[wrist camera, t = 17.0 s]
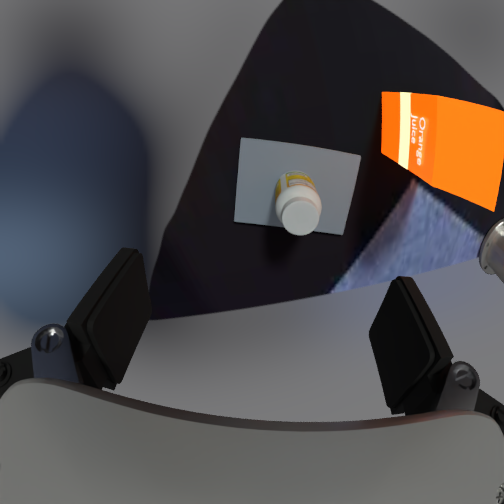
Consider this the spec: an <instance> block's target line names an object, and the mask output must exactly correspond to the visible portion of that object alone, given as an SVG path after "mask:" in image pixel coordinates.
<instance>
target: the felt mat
mask: <svg viewBox="0 0 504 504" xmlns="http://www.w3.org/2000/svg"><path fill="white" fill-rule="evenodd" d="M360 159H361V156H359V155H355V154H350V153H345V152H340V151H334V150H329V149H323V148H318V147H312V146H305V145H299V144H292V143H284V142H277V141H268V140H260V139H250V138H241V144H240V155H239V167H238V179H237V192H236V204H235V218H234V222H243V223H252V224H261V225H270V226H278V227H284V225H283V223H282V222H281V221H280V220H279V219H278V217H277V214H276V210H275V188H276V183H277V181H278V179H279V178H280V177H281V176H282V175H283V174H285V173H287V172H289V171H300V172H303V173H305V174H307V175H308V176H309V177H310V178H311V179H312V181H313V183H314V185H315V188H316V190H317V192H318V195H319V197H320V200H321V204H322V210H321V214H320V217H319V222H318V225H317V227H316V228H315V229H314V230H313V231H318V232H325V233H333V234H340V235H343V231H344V227H345V223H346V219H347V216H348V212H349V208H350V204H351V199H352V195H353V191H354V187H355V182H356V178H357V173H358V169H359V164H360Z"/></svg>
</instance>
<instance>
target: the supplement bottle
mask: <svg viewBox="0 0 504 504" xmlns="http://www.w3.org/2000/svg"><path fill="white" fill-rule="evenodd" d="M275 210H276V214H277V217H278V219H279V220H280V221H281V222H282V223H283V225H284V227H285V229H286V230H287V231H289V232H290V233H292V234H295V235H306V234H308V233H310V232H312V231H313V230H314V229H315V228H316V227H317V225H318V222H319V217H320V214H321V210H322V204H321V200H320V197H319V195H318V192H317V190H316V188H315V185H314V183H313V181H312V179H311V178H310V177H309V176H308V175H307V174H305V173H303V172H300V171H289V172H287V173H285V174H283V175H282V176H281V177H280V178H279V179H278V181H277V183H276V188H275Z"/></svg>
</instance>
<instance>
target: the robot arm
mask: <svg viewBox="0 0 504 504" xmlns="http://www.w3.org/2000/svg"><path fill="white" fill-rule="evenodd" d="M479 262H480V266H481V268H482V269H483V270H484V271H485V273H487V274H496V275H497V276H498V277H499V278H500V280H501V281H502V282H503V283H504V219H502V220H500V221H498V222H497V223H496V224H495V225H494V226H493V227H492V228H491V229H490V230H489V232H488V233H487V235H486V237H485V239H484V241H483V243H482V246H481V249H480V254H479ZM151 312H152V307H151V302H150V297H149V291H148V286H147V280H146V274H145V268H144V262H143V256H142V254H141V253H139V252H138V250H137V249H132V248H121V250H120V251H119V252H118V253H117V254H116V256H115V257H114V258H113V259H112V261H111V262H110V263H109V264H108V266H107V267H106V268H105V269H104V271H103V272H102V273H101V274H100V276H99V277H98V278H97V280H96V281H95V282H94V284H93V285H92V286H91V288H90V289H89V290H88V292H87V293H86V294H85V296H84V297H83V299H82V300H81V301H80V303H79V304H78V305H77V307H76V308H75V310H74V311H73V312H72V314H71V315H70V317H69V318H68V320H67V323H66V325H65V326H64V327H63V326H61V325H59V324H48V325H45V326H43V327H41V328H40V329H39V330H37V332H36V333H35V334H34V336H33V338H32V341H31V347H30V348H27V349H25V350H22V351H19V352H17V353H14V354H12V355H9V356H7V357H4V358H2V359H0V504H504V405H503V404H501V403H500V402H498V401H497V400H495V399H494V398H492V397H491V396H489V395H488V394H487V393H485V392H484V391H482V390H481V389H479V386H480V379H479V375H478V373H477V372H476V370H475V369H474V368H473V367H472V366H471V365H470V364H468V363H466V362H464V361H457V362H455V363H453V364H452V362H451V359H452V358H453V357H454V356H453V354H452V352H451V350H450V348H449V346H448V343H447V341H446V339H445V337H444V335H443V333H442V331H441V329H440V327H439V325H438V323H437V321H436V320H435V317H434V316H433V314H432V312H431V310H430V308H429V306H428V305H427V303H426V301H425V299H424V297H423V295H422V294H421V292H420V290H419V288H418V287H417V285H416V283H415V282H414V280H413V279H412V278H411V277H404V276H398V277H397V278H396V279H394V280H392V282H391V284H390V286H389V289H388V291H387V293H386V295H385V298H384V300H383V302H382V305H381V307H380V309H379V311H378V313H377V315H376V318H375V319H374V322H373V324H372V326H371V328H370V331H369V338H370V342H371V346H372V349H373V353H374V356H375V360H376V364H377V367H378V371H379V375H380V379H381V383H382V387H383V392H384V396H385V400H386V404H387V406H388V407H389V408H390V409H391V414H392V415H394V414H401V413H404V412H405V416H399V417H391V418H382V419H372V420H360V421H343V422H282V421H264V420H251V419H241V418H232V417H224V416H216V415H208V414H203V413H196V412H190V411H185V410H180V409H175V408H170V407H165V406H161V405H156V404H152V403H148V402H144V401H140V400H136V399H132V398H128V397H124V396H120V395H117V394H113V393H110V392H107V391H103V390H102V387H105V388H108V389H111V390H114V389H115V387H116V384H117V383H118V384H120V383H121V382H122V380H123V377H124V375H125V372H126V370H127V368H128V365H129V363H130V361H131V358H132V356H133V354H134V352H135V349H136V347H137V345H138V342H139V340H140V338H141V336H142V333H143V331H144V329H145V327H146V324H147V323H148V321H149V318H150V316H151Z"/></svg>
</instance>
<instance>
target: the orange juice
mask: <svg viewBox="0 0 504 504" xmlns="http://www.w3.org/2000/svg"><path fill="white" fill-rule="evenodd" d="M381 153H383V154H384V155H386V156H388V157H389V158H391V159H392V160H394V161H396V162H397V163H398V164H400V165H401V166H403V167H404V168H406V169H408V170H410V171H411V172H413V173H414V174H416V175H417V176H419V177H420V178H421V179H423V180H424V181H426V182H427V183H429V184H430V185H431V186H433V187H437V188H439V189H442V190H445V191H447V192H450V193H452V194H455V195H457V196H460V197H462V198H464V199H467V200H469V201H471V202H474V203H476V204H478V205H481V206H483V207H485V208H487V209H489V210H491V211H494V209H495V204H496V200H497V195H498V190H499V184H500V178H501V172H502V165H503V158H504V112H503V111H500V110H497V109H493V108H490V107H486V106H482V105H478V104H474V103H470V102H466V101H461V100H457V99H452V98H447V97H442V96H436V95H426V94H414V93H405V92H400V93H398V92H382V149H381Z"/></svg>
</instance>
